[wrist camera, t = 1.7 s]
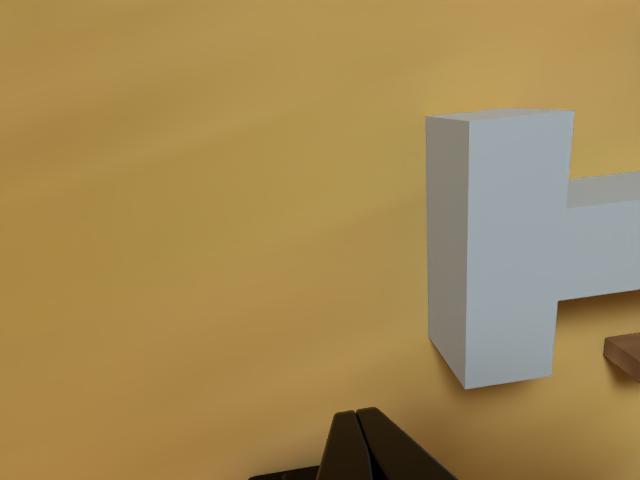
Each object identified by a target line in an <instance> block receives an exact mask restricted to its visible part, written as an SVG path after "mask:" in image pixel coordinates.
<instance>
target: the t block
mask: <svg viewBox="0 0 640 480" xmlns="http://www.w3.org/2000/svg"><path fill="white" fill-rule="evenodd" d="M574 113H575V110H554V109H527V108H502V109H493V110H483V111H473V112H463V113H453V114H443V115H433V116H426V186H427V260H428V334H429V338H430V339H431V341H432V342H433V344H434V345H435V347H436V348H437V350H438V351H439V352H440V354H441V355H442V357H443V358H444V360H445V361H446V363H447V364H448V365H449V367H450V368H451V370H452V371H453V373H454V374H455V376H456V377H457V379H458V380H459V381H460V383H461V384H462V386H463V387H464V389H472V388H478V387H484V386H491V385H497V384H504V383H510V382H516V381H523V380H529V379H535V378H542V377H548V376H551V373H552V362H553V350H554V339H555V328H556V316H557V305H558V301H561V300H568V299H575V298H582V297H589V296H596V295H603V294H610V293H617V292H625V291H632V290H639V289H640V171H636V172H627V173H619V174H610V175H602V176H593V177H585V178H576V179H569V169H570V158H571V147H572V135H573V124H574Z"/></svg>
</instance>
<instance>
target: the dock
mask: <svg viewBox="0 0 640 480" xmlns="http://www.w3.org/2000/svg"><path fill="white" fill-rule="evenodd" d="M603 355H604V356H605V357H606V358H608V359H609V360H610V361H612V362H613V363H614V364H616V365H617V366H618V367H620V368H621V369H622V370H624V371H625V372H626V373H628V374H629V375H630V376H632V377H633V378H634V379H635V380H637V381H638V382H639V383H640V333H634V334H627V335H621V336H614V337H608V338H606V339H605V347H604V354H603Z"/></svg>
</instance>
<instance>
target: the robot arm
mask: <svg viewBox="0 0 640 480" xmlns="http://www.w3.org/2000/svg"><path fill="white" fill-rule="evenodd" d="M248 480H458V479H457V478H456V477H455V476H454V475H453V474H452V473H450V472H449V471H448V470H447V469H446V468H445V467H444V466H442V465H441V464H440V463H439V462H438V461H437V460H436V459H435V458H433V457H432V456H431V455H430V454H429V453H428V452H427V451H425V450H424V449H423V448H422V447H421V446H420V445H419V444H417V443H416V442H415V441H414V440H413V439H412V438H411V437H410V436H408V435H407V434H406V433H405V432H404V431H403V430H402V429H400V428H399V427H398V426H397V425H396V424H395V423H394V422H392V421H391V420H390V419H389V418H388V417H387V416H386V415H385V414H383V413H382V412H381V411H380V410H379V409H378V408H376V407H369V408H363V409H358V410H357V411H356V413H355V412H354V411H353V410H350V411H344V412H338V413H336V414H335V415H334V417H333V420H332V424H331V428H330V431H329V435H328V439H327V442H326V446H325V449H324V453H323V457H322V460H321V464H320V466H314V467H308V468H302V469H296V470H290V471H284V472H278V473H272V474H266V475H260V476H254V477H251V478H250V479H248Z"/></svg>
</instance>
